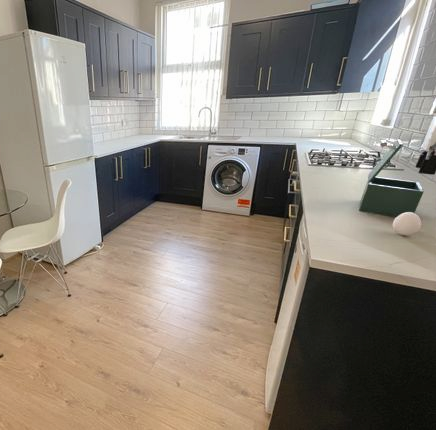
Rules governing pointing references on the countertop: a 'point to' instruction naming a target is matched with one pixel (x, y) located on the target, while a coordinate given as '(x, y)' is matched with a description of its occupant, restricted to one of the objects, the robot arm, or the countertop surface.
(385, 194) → the bin
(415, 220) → the egg
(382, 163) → the bin lid
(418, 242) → the countertop surface
